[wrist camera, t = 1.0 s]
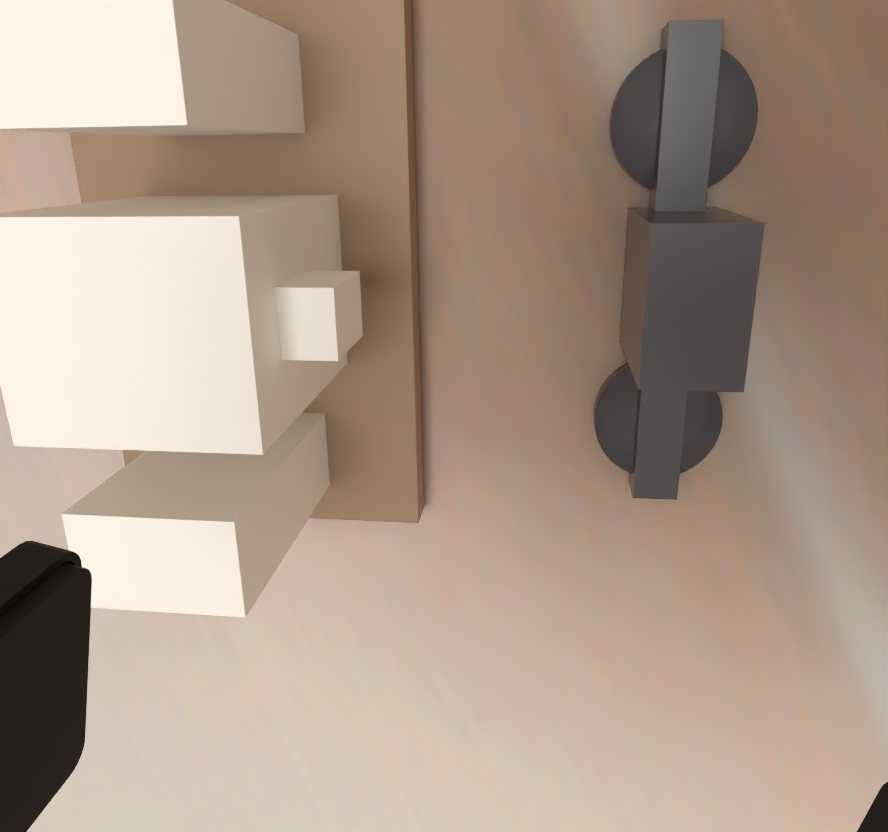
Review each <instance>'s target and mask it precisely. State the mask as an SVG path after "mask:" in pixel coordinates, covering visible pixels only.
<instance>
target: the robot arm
mask: <svg viewBox="0 0 888 832" xmlns="http://www.w3.org/2000/svg"><path fill="white" fill-rule="evenodd" d="M91 589H92V576H91V573H90V570H88V569H86V568H83V567H82V565H81V559H80V557H79V555H78V554H76V553H75V552H72V551H68V550H65V549H61V548H57V547H53V546H49V545H46V544H42V543H38V542H34V541H25V542H23V543H22V544H20V545H18V546H17V547H15V548H14V549H12V550H11V551H10V552H8V553H7V554H6V555H4V556H3V557H1V558H0V832H26V831H27V830H28V829H29V828H30V826H31V825H32V824H33V822H34V821H35V820H36V819H37V817H38V816H39V815H40V813H41V812H42V811H43V810H44V808H45V807H46V806H47V804H48V803H49V802H50V801H51V799H52V798H53V797H54V795H55V794H56V793H57V792H58V790H59V789H60V788H61V786H62V785H63V784H64V783H65V781H66V780H67V779H68V777H69V776H70V775H71V773H72V772H73V770H74V769H75V767H76V765H77V763H78V761H79V759H80V756H81V754H82V751H83V747H84V742H85V724H86V702H87V679H88V656H89V634H90V611H91ZM857 832H888V782H887V783H885V784H884V785H883V786H882V788H881V789H880V791H879V792H878V794H877V796H876V798H875V800H874V802H873V803H872V805H871V807H870V809H869V811H868V813H867V814H866V816H865V818H864V820H863V822H862V824H861V825H860V827H859V829H858V831H857Z"/></svg>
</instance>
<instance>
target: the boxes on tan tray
mask: <svg viewBox="0 0 888 832" xmlns="http://www.w3.org/2000/svg"><path fill="white" fill-rule="evenodd" d="M0 130H22V131H49V132H70V137H71V143H72V149H73V155H74V161H75V167H76V173H77V179H78V185H79V191H80V197H81V203H82V204H75V205H67V206H58V207H49V208H41V209H32V210H23V211H15V212H6V213H0V385H1V389H2V394H3V398H4V403H5V407H6V412H7V417H8V421H9V426H10V430H11V435H12V440H13V444H14V446H31V447H59V448H87V449H115V450H123V454H124V460H125V467H123V468H122V469H121V470H119V471H118V472H117V473H115V474H114V475H113V476H111V477H110V478H109V479H107V480H106V481H105V482H103V483H102V484H101V485H100V486H98V487H97V488H96V489H94V490H93V491H92V492H90V493H89V494H88V495H86V496H85V497H84V498H82V499H81V500H80V501H78V502H77V503H76V504H74V505H73V506H72V507H70V508H69V509H68V510H66V511H65V512H64V513H62V518H63V523H64V528H65V533H66V538H67V543H68V548H69V551H72V552H75V553H76V554H78V555H79V557H80V559H81V565H82V567H83V568H86V569H88V570H90V573H91V576H92V589H91V608H107V609H123V610H138V611H154V612H170V613H186V614H202V615H218V616H234V617H246V616H247V614H248V612H249V611H250V609H251V608H252V606H253V605H254V603H255V601H256V600H257V598H258V597H259V595H260V594H261V592H262V591H263V589H264V587H265V586H266V584H267V583H268V581H269V580H270V578H271V576H272V575H273V573H274V572H275V570H276V569H277V567H278V565H279V564H280V562H281V561H282V559H283V558H284V556H285V554H286V553H287V551H288V550H289V548H290V547H291V545H292V544H293V542H294V540H295V539H296V537H297V536H298V534H299V533H300V531H301V529H302V528H303V526H304V525H305V523H306V522H307V520H308V518H320V519H342V520H364V521H386V522H407V523H419V520H420V517H421V514H422V511H423V508H424V485H423V445H422V404H421V364H420V324H419V284H418V244H417V204H416V163H415V123H414V83H413V43H412V3H411V0H0Z"/></svg>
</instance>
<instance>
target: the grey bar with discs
mask: <svg viewBox="0 0 888 832" xmlns="http://www.w3.org/2000/svg"><path fill="white" fill-rule="evenodd" d="M723 24H724V20H703V21H674V22H669V23H668V24H667V25H666V26H665V27H664V28H663V29H662V33H661V47H660V50H659V51H657V52H656V53H654V54H652V55H650V56H649V57H648V58H646V59H645V60H644V61H642V62H641V63H640V64H639V65H638V66H637V67H636V68H635V69H634V70H633V71H632V72H631V73H630V74H629V75H628V76H627V78H626V79H625V81H624V82H623V84H622V85H621V87H620V89H619V91H618V93H617V95H616V97H615V100H614V103H613V106H612V110H611V115H610V138H611V144H612V147H613V151H614V153H615V155H616V158H617V160H618V161H619V163H620V165H621V166H622V168H623V169H624V170H625V171H626V173H627V174H628V175H629V176H630V177H632V178H633V179H634V180H635V181H637V182H638V183H640V184H641V185H643V186H645V187H647V188H650V196H649V208H628V218H627V233H626V249H625V264H624V280H623V295H622V310H621V326H620V341H619V342H620V344H621V347H622V349H623V352H624V354H625V357H626V360H627V362H628V363H627V364H625V365H623V366H622V367H620V368H619V369H617V370H616V371H615V372H614V373H613V374H612V375H611V376H610V377H609V378H608V379H607V380H606V381H605V383H604V384H603V386H602V387H601V389H600V391H599V393H598V395H597V398H596V402H595V406H594V424H595V430H596V435H597V438H598V441H599V443H600V446H601V448H602V449H603V451H604V452H605V454H606V455H607V456H608V457H609V459H610V460H611V461H612V462H614V463H615V464H616V465H617V466H619V467H620V468H622V469H623V470H625V471H627V472H629V484H630V488H631V492H632V496H633V498H650V499H675V500H677V494H678V484H679V473H682V472H685V471H687V470H689V469H690V468H692V467H694V466H695V465H697V464H698V463H699V462H700V461H702V460H703V459H704V458H705V457H706V456H707V455H708V453H709V452H710V451H711V450H712V448H713V447H714V445H715V443H716V441H717V439H718V437H719V434H720V431H721V426H722V407H721V403H720V400H719V397H718V395H717V392H744V384H745V376H746V368H747V360H748V352H749V344H750V336H751V328H752V320H753V312H754V304H755V296H756V287H757V279H758V271H759V263H760V255H761V247H762V239H763V231H764V223H762V222H759V221H756V220H753V219H750V218H747V217H744V216H741V215H738V214H735V213H732V212H729V211H726V210H723V209H720V208H706V198H707V187H709V186H711V185H713V184H715V183H716V182H718V181H720V180H721V179H723V178H724V177H725V176H726V175H727V174H729V173H730V172H731V171H732V170H733V169H734V168H735V167H736V166H737V164H738V163H739V162H740V160H741V159H742V158H743V156H744V155H745V153H746V151H747V150H748V148H749V145H750V143H751V141H752V139H753V135H754V132H755V128H756V123H757V112H758V107H757V98H756V93H755V89H754V86H753V83H752V81H751V79H750V77H749V75H748V73H747V71H746V70H745V69H744V67H743V66H742V65H741V64H740V63H739V62H738V61H737V60H736V59H735V58H734V57H733V56H732V55H730V54H729V53H727V52H726V51H724V50H722V49H721V44H722V34H723Z"/></svg>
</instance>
